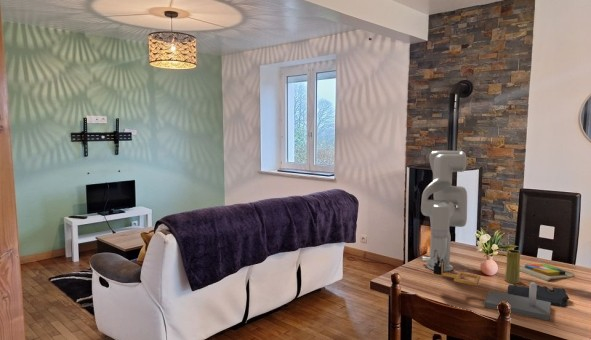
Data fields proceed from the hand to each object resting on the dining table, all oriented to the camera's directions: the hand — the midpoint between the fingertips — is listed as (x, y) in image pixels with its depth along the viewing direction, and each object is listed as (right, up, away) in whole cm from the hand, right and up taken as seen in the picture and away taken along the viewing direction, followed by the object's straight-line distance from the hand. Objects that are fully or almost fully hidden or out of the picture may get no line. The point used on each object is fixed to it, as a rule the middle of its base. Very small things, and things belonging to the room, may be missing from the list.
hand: (438, 272), depth 180 cm
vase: (+38, -7, +10) cm, 40 cm away
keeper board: (+25, -9, -17) cm, 32 cm away
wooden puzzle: (+60, -6, +21) cm, 64 cm away
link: (+6, -1, -4) cm, 7 cm away
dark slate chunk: (+39, -9, -7) cm, 41 cm away
